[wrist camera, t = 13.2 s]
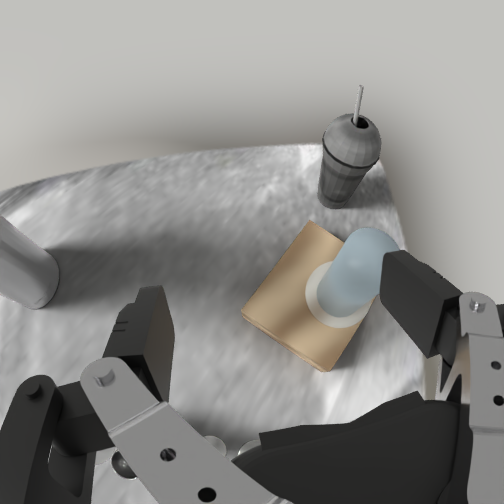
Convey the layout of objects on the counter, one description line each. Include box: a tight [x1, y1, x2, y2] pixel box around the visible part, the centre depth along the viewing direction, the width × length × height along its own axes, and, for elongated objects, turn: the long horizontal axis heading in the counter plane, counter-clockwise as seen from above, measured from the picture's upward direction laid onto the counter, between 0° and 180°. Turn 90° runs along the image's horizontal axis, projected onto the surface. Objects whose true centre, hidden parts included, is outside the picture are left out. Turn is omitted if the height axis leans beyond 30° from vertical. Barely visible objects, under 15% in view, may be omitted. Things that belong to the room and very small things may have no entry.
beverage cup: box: [317, 85, 381, 209], centre depth 36 cm, size 7×7×20 cm
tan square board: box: [241, 220, 377, 372], centre depth 37 cm, size 12×14×4 cm
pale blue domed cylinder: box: [317, 228, 400, 317], centre depth 29 cm, size 5×5×11 cm
